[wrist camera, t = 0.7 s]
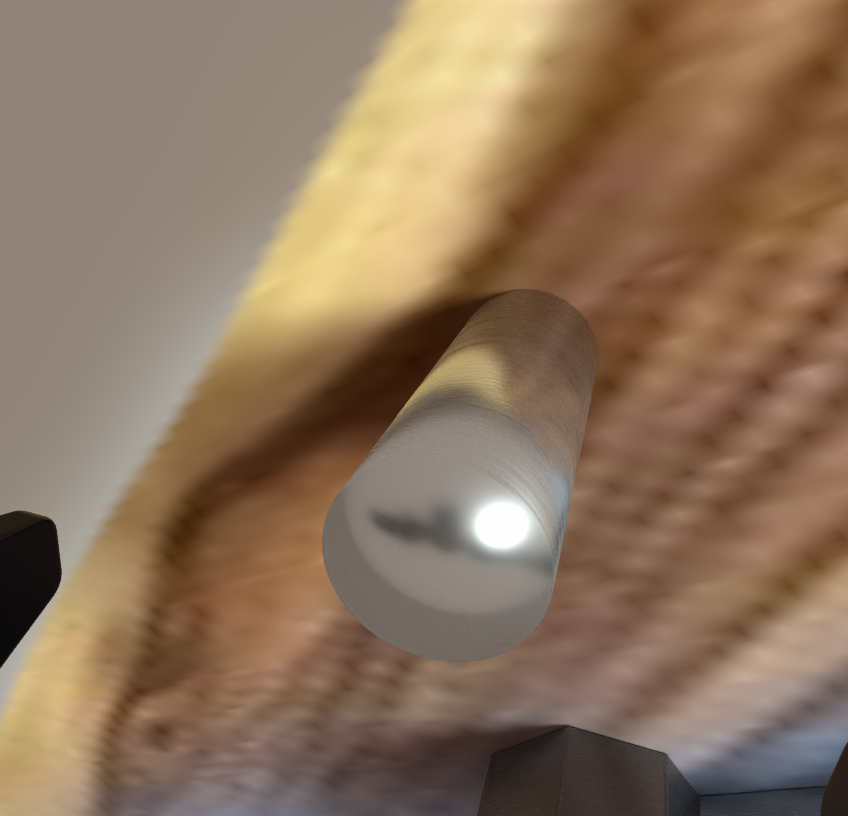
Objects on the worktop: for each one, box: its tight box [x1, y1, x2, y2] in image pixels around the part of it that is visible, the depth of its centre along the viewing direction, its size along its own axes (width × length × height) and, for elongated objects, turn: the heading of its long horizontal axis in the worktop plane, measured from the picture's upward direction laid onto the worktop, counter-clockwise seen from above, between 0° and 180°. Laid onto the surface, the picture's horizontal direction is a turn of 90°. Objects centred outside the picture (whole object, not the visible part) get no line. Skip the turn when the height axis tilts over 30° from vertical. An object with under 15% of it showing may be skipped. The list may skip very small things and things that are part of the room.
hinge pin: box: [322, 290, 598, 662], centre depth 13 cm, size 3×3×8 cm
